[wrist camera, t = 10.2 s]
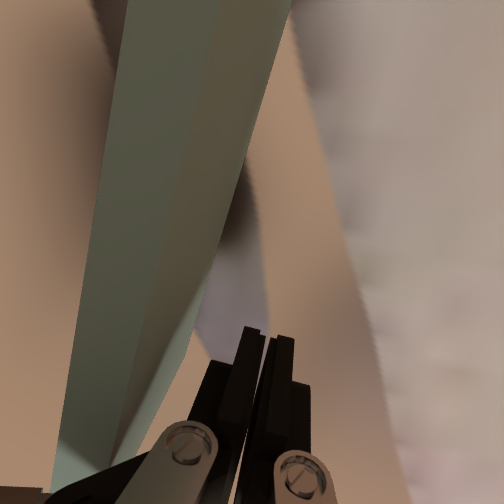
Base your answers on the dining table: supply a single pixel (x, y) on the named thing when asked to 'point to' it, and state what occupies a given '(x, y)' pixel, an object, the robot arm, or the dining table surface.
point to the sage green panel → (160, 212)
